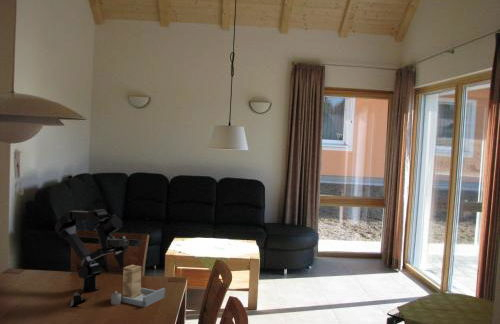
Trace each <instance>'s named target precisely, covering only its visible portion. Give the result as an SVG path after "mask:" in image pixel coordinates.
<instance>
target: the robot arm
mask: <svg viewBox="0 0 500 324" xmlns="http://www.w3.org/2000/svg"><path fill="white" fill-rule="evenodd" d="M78 220H80V221H81V220H83V221H88V223H91V224H94V225H93V227H92V229H91V230H92V231H95V232H96V235H97V238H98V240H97V244H99V246H100V248H97V249H95V250H93V251H91V252H90V251H89V249H88V248H87V247H86V246H85V244H84V242H83V241H82V240H81V238H80V237H79V235H78V234H77V227H76V226H77V224H78ZM123 224H124V223H123V220H122V219H121V218H120V217H118V216H117V214H115V213H114V214H112V215H111V214H110V213H108V212H107V210H106V208H105V209H103V208H102V209H94V210H89V211H88V210H76V209H73V210H67V211H66V212H65V213H64V215H63V216H61V217H60V218H59V219H58V220H57V222H56V224H55V226H54V231H55V232H56V233H57V234H58V235H59V237H60V238H61V237H62V238H63V239H65V240H66V241H67V242H68V243H69V245H70V246H71V248H72V250H73V252H75V254H76V256H77V257H78V259H79V260H80V263H81V264H80V268H81V269H80V270H79V271H78V273H77V275H78V278H80V279H82V286H81V287H79V289H80V290H81V291H82V292H84V293H87V292H88V293H89V292H94V291H99V287H97V276H101V274H102V271H103V270H104V271H105V272H106V273H108V272H109V271H110V269H109V264H108V261H107V258H108V254H113V257H114V259H115V260H116V262H117V264H118V267H120V269H123V268H124V262H125V261H124V260H125V259H124V258H125V254H126V253H128V252H127V251H128V250H129V245H128V244H126V243H127V238H126V235H121V236H119V238H116V237H115V236H114V235H112V233H114V232H117V231H118V230H120V229H122V227H123Z"/></svg>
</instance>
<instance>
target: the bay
mask: <svg viewBox="0 0 500 324" xmlns="http://www.w3.org/2000/svg"><path fill="white" fill-rule="evenodd" d="M164 298H166V287H162V288H160V289H158V290H155V289H149V288H145V287H141V296H138V297H136V298H134V299H133V298H129V297H124V296H122V293H121V292H118V290H115V291H114V292H112V293H111V294H110V304H111V305H112V306H113V305H114V306H117V305H121V304H122V303H124V304H125V303H126V304H129V305H134V306H137V307H143V308H146V307H148V306H150V305H152V304H154V303H156V302H158V301H160V300H163V299H164Z"/></svg>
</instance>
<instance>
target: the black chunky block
mask: <svg viewBox="0 0 500 324" xmlns="http://www.w3.org/2000/svg"><path fill="white" fill-rule="evenodd" d="M82 292H83V291H82ZM82 292H73V293H74V294H73V299H71V301H70V304H69V305H70V306H69V309H70V308H73V309H75V308H80V306H79V305H82V304H83V303H86V301H87V300H86V298H83V297H82V296H83V294H82ZM82 298H83V299H82Z"/></svg>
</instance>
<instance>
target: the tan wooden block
mask: <svg viewBox="0 0 500 324" xmlns="http://www.w3.org/2000/svg"><path fill="white" fill-rule="evenodd" d="M142 269H143V268H142V266H141V265H138V264H137V265H135V264H130V265H127V266H125V267H124V266H123V268H122V273H123V274H122V294H121V296H124V297H129V298H133V299H134V298H136V297H138V296H141V288H142Z"/></svg>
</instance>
